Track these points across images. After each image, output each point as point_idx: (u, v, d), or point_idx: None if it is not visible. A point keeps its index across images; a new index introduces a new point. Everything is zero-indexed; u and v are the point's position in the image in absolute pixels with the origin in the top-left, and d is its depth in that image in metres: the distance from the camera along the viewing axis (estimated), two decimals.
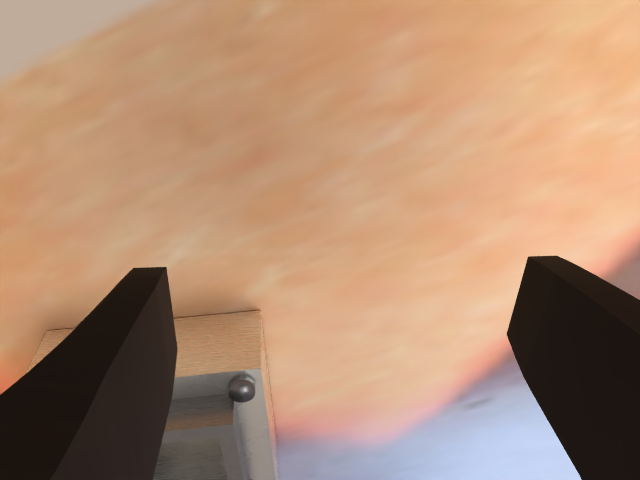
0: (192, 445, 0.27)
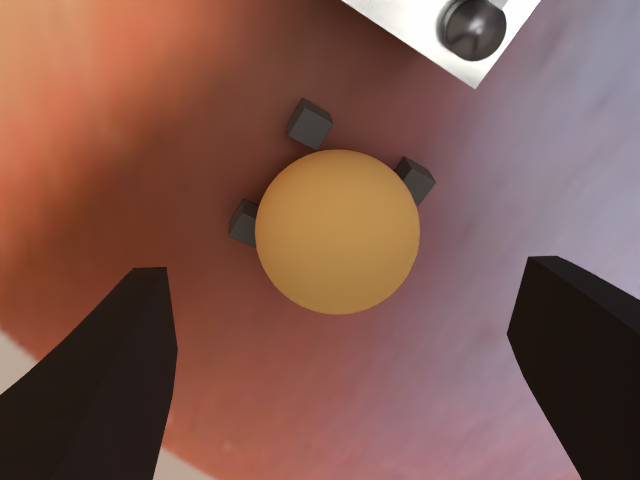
0: None
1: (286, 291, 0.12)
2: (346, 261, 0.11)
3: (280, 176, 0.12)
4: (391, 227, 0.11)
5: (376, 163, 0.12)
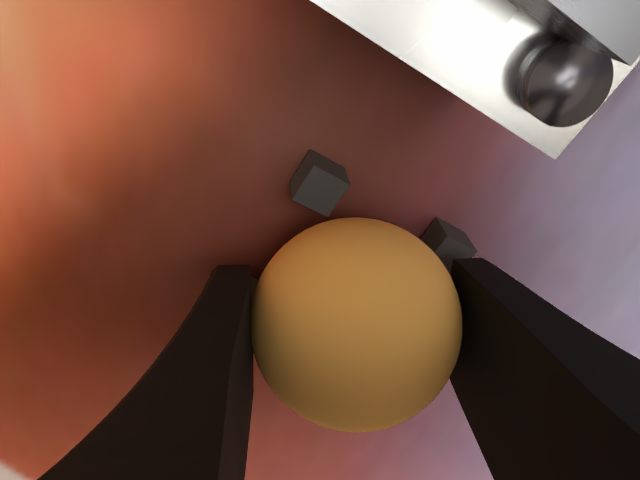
0: None
1: (291, 406, 0.09)
2: (371, 380, 0.08)
3: (282, 256, 0.09)
4: (430, 332, 0.09)
5: (407, 241, 0.09)
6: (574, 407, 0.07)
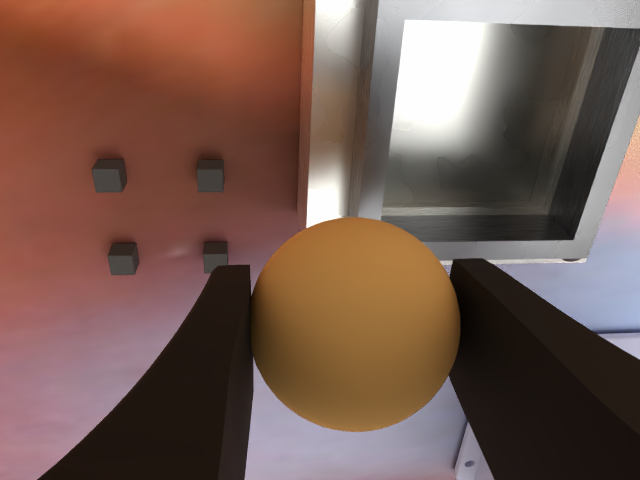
0: (437, 186, 0.19)
1: (289, 406, 0.09)
2: (370, 379, 0.08)
3: (281, 256, 0.09)
4: (429, 331, 0.09)
5: (405, 241, 0.09)
6: (574, 407, 0.07)
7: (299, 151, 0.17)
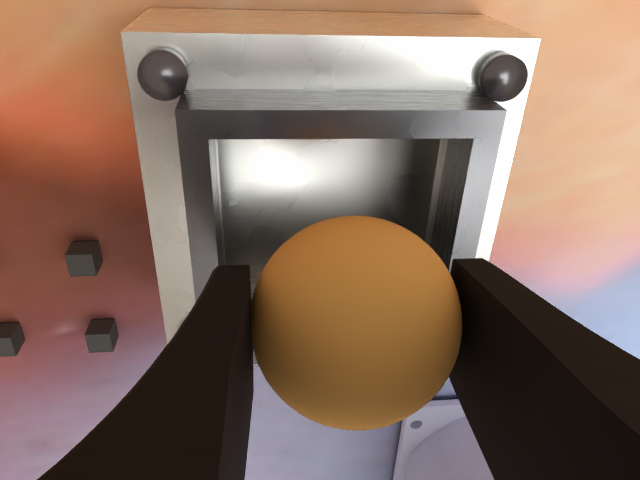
0: None
1: (290, 404, 0.09)
2: (372, 378, 0.08)
3: (283, 254, 0.09)
4: (431, 330, 0.09)
5: (407, 239, 0.09)
6: (574, 407, 0.07)
7: None
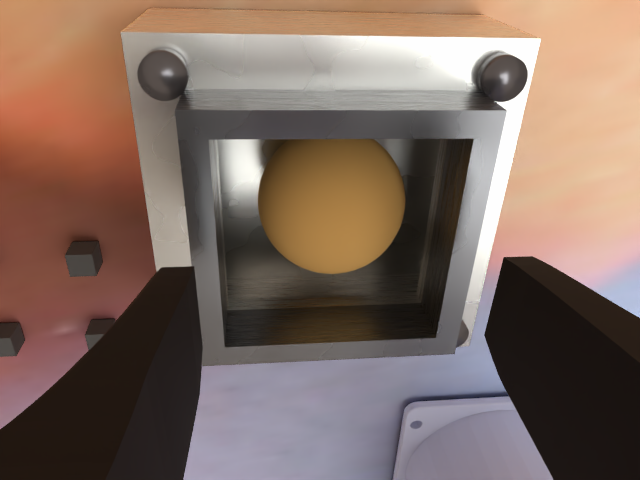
0: None
1: (293, 254, 0.14)
2: (349, 220, 0.13)
3: (281, 151, 0.14)
4: (385, 190, 0.13)
5: None
6: None
7: None
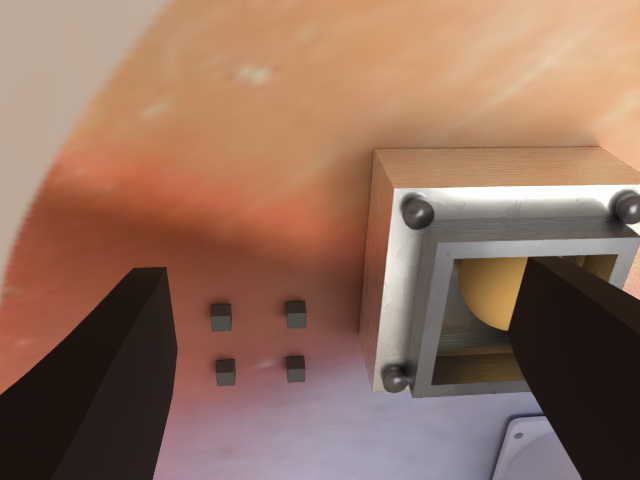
0: (467, 314, 0.24)
1: None
2: None
3: None
4: None
5: None
6: None
7: (363, 295, 0.23)
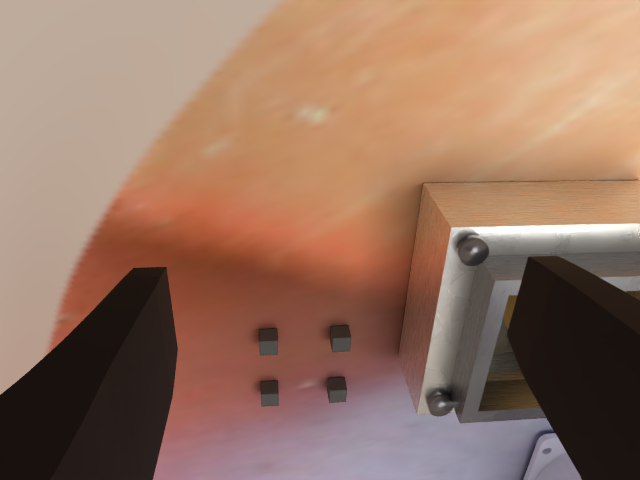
0: (504, 337, 0.25)
1: None
2: None
3: None
4: None
5: None
6: None
7: (405, 320, 0.24)
